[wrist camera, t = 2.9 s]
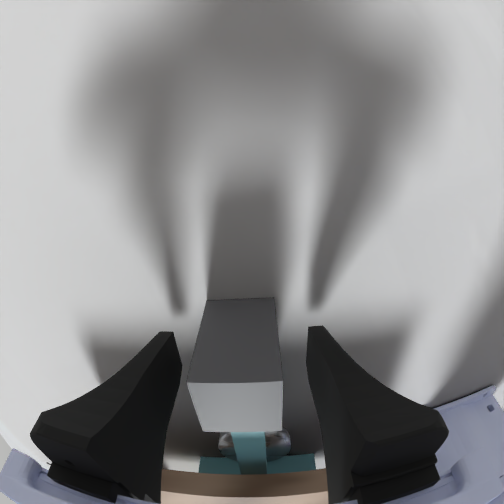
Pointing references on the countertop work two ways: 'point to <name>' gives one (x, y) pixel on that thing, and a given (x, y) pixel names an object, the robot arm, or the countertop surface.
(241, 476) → the low wooden table
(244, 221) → the countertop surface
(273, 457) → the steel token
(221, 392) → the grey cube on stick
